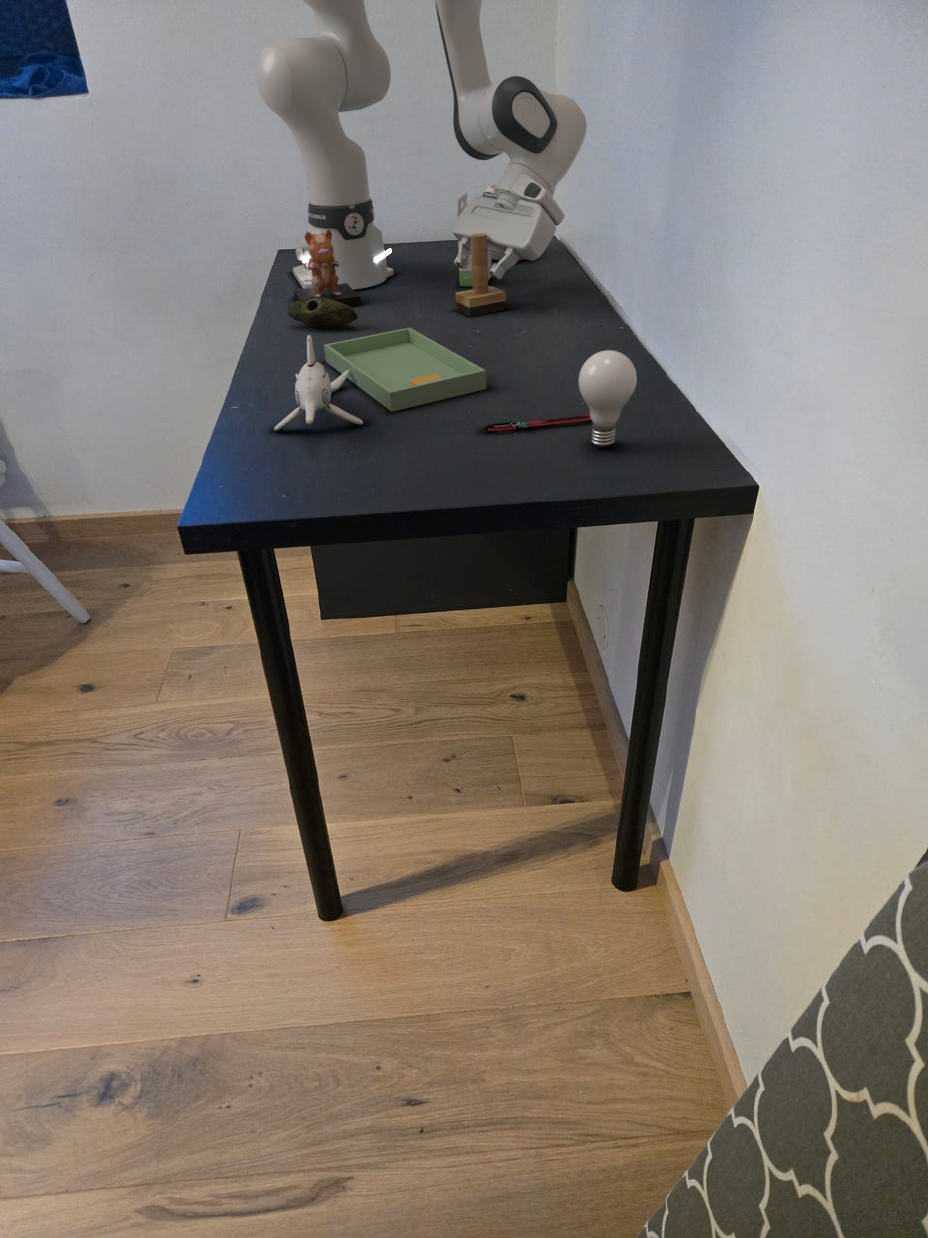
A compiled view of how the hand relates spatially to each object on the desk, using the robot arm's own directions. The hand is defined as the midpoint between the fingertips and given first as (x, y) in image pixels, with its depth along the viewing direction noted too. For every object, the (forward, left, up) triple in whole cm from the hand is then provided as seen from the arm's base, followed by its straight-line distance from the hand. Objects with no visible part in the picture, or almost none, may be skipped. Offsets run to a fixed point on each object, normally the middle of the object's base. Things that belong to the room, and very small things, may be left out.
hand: (476, 270), depth 137 cm
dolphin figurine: (+29, -40, -7) cm, 50 cm away
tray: (+21, -24, -6) cm, 33 cm away
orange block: (+30, -24, -6) cm, 39 cm away
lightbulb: (+56, -15, -7) cm, 58 cm away
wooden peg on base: (0, +1, -6) cm, 7 cm away
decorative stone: (-7, -25, -7) cm, 27 cm away
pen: (+47, -18, -7) cm, 51 cm away
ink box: (-17, +10, -7) cm, 21 cm away
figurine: (-21, -19, -7) cm, 30 cm away
